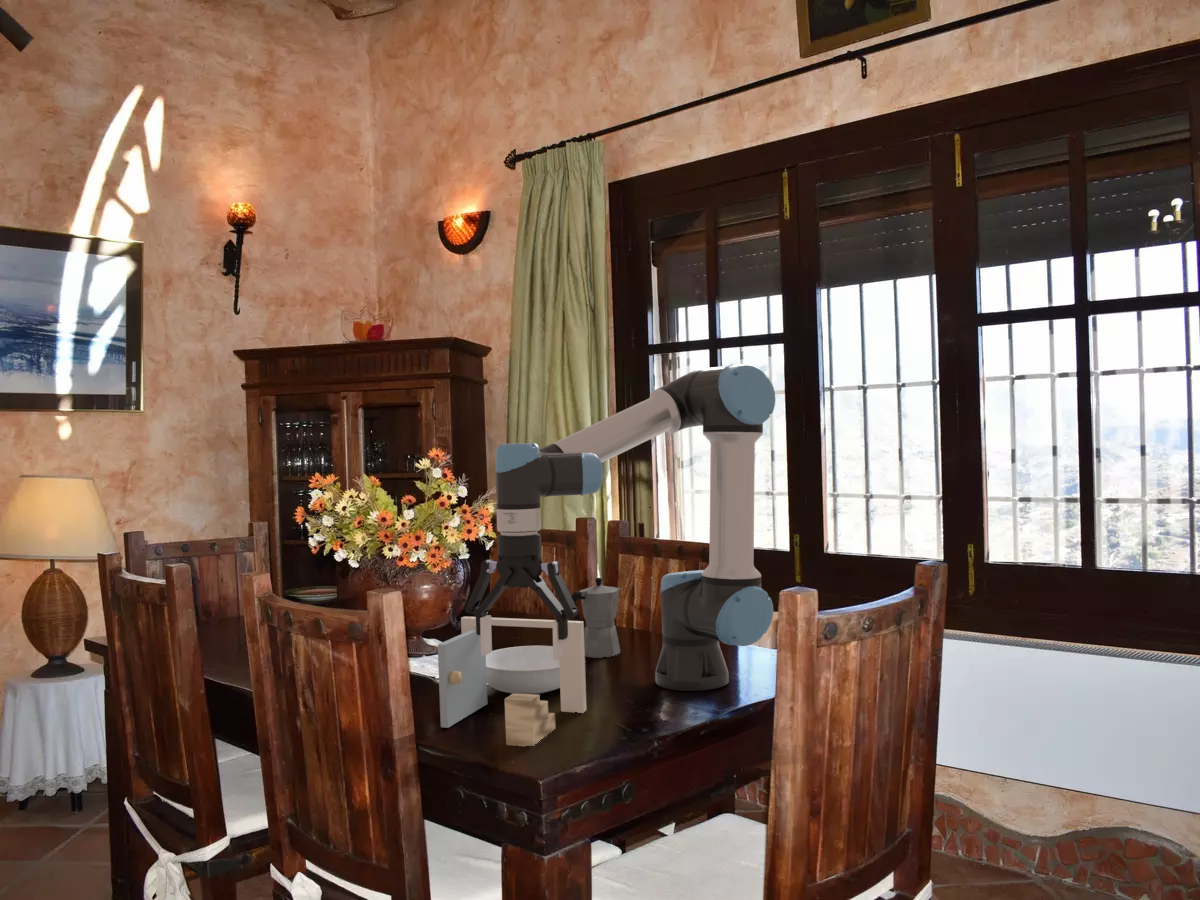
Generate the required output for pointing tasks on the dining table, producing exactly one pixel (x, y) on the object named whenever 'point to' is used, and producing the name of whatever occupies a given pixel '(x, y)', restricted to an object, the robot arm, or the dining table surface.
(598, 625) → the coffeepot
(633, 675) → the dining table surface
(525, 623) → the wall frame
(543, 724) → the toy staircase
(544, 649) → the serving bowl
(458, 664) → the door
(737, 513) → the robot arm
